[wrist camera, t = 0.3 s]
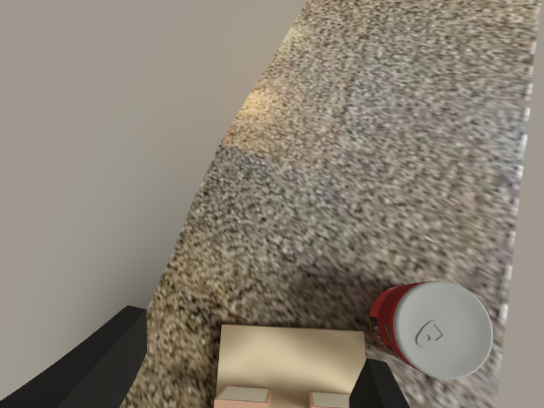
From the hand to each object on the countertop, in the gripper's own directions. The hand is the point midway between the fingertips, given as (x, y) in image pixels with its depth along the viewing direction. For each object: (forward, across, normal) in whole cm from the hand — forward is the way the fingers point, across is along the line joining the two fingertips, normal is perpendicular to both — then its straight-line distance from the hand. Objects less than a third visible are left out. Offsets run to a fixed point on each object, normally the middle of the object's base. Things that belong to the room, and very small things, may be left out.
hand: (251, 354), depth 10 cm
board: (+15, -5, +26) cm, 30 cm away
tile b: (+14, -1, +25) cm, 29 cm away
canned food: (+22, -16, +17) cm, 32 cm away
